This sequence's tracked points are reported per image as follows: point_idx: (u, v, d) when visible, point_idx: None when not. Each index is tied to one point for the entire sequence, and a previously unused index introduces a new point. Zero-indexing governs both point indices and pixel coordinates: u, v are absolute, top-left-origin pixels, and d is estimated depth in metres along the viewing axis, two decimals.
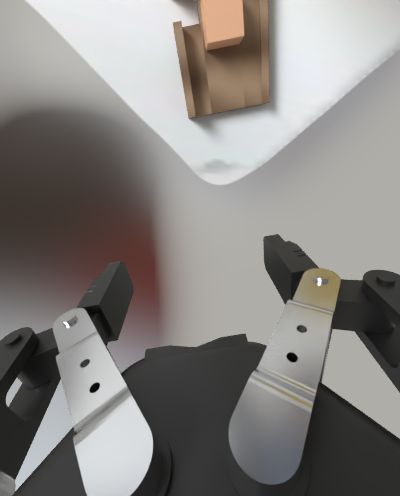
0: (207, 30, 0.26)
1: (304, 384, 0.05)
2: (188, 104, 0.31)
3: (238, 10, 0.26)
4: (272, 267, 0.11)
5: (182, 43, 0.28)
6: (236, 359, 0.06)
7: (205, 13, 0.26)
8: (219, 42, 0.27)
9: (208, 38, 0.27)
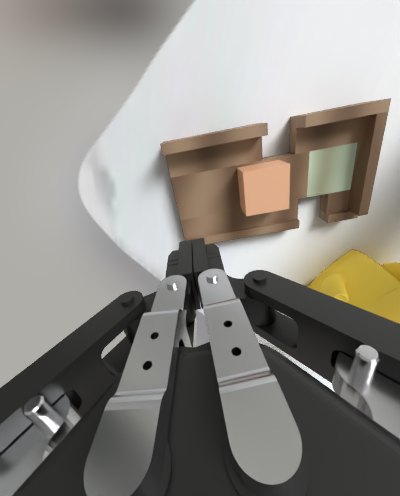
0: (254, 172, 0.21)
1: (258, 366, 0.05)
2: (177, 143, 0.21)
3: (268, 207, 0.23)
4: None
5: (245, 136, 0.21)
6: None
7: (270, 168, 0.21)
8: (242, 186, 0.22)
9: (247, 173, 0.21)
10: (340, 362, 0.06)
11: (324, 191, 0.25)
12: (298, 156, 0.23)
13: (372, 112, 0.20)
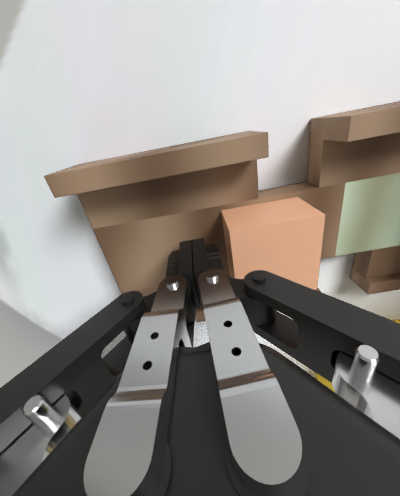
0: (253, 230, 0.10)
1: (258, 366, 0.05)
2: (79, 175, 0.10)
3: None
4: None
5: (222, 159, 0.10)
6: None
7: (285, 224, 0.10)
8: (230, 251, 0.12)
9: (238, 232, 0.10)
10: (340, 362, 0.06)
11: (365, 247, 0.15)
12: (324, 191, 0.13)
13: None
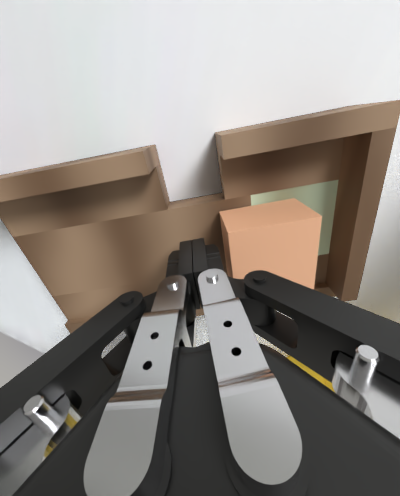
0: (251, 231, 0.11)
1: (258, 366, 0.05)
2: None
3: None
4: None
5: (104, 176, 0.10)
6: None
7: (282, 225, 0.11)
8: (228, 252, 0.12)
9: (236, 234, 0.11)
10: (340, 362, 0.06)
11: None
12: (231, 203, 0.13)
13: (362, 129, 0.10)
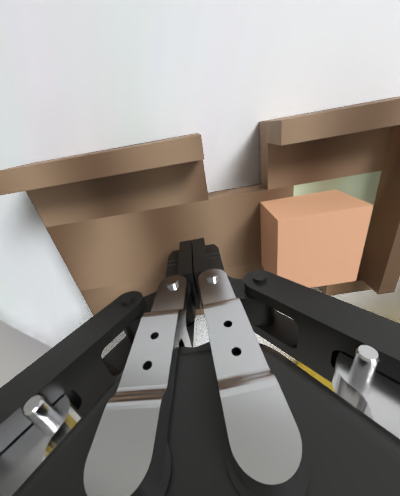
0: (301, 219, 0.11)
1: (258, 366, 0.05)
2: (17, 174, 0.10)
3: (317, 279, 0.12)
4: None
5: (158, 161, 0.10)
6: None
7: (333, 214, 0.10)
8: (273, 242, 0.12)
9: (286, 222, 0.11)
10: (340, 363, 0.06)
11: None
12: (273, 193, 0.13)
13: None
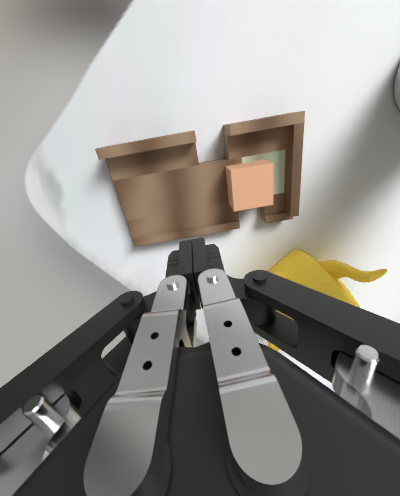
0: (241, 170, 0.23)
1: (258, 366, 0.05)
2: (111, 149, 0.22)
3: (254, 203, 0.25)
4: None
5: (175, 142, 0.22)
6: None
7: (255, 167, 0.23)
8: (230, 184, 0.24)
9: (234, 171, 0.23)
10: (340, 363, 0.06)
11: None
12: (232, 161, 0.25)
13: (289, 123, 0.22)
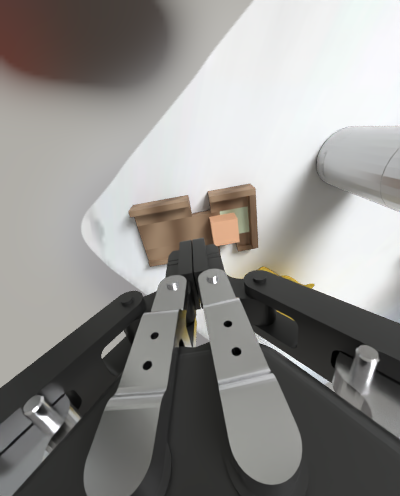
0: (217, 222, 0.37)
1: (258, 366, 0.05)
2: (138, 211, 0.36)
3: (227, 241, 0.39)
4: None
5: (176, 207, 0.36)
6: None
7: (226, 221, 0.37)
8: (211, 229, 0.38)
9: (213, 223, 0.37)
10: (340, 362, 0.06)
11: None
12: (213, 214, 0.39)
13: (246, 195, 0.36)
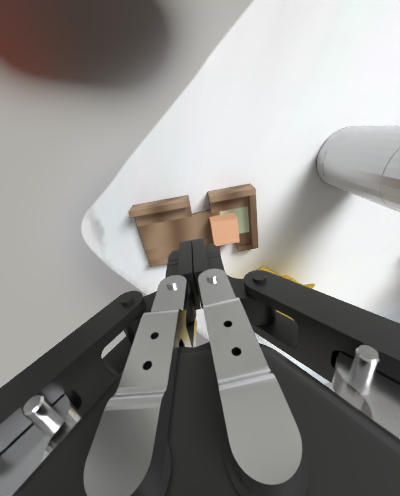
0: (217, 222, 0.37)
1: (258, 366, 0.05)
2: (138, 211, 0.36)
3: (227, 241, 0.39)
4: None
5: (176, 207, 0.36)
6: None
7: (226, 221, 0.37)
8: (211, 229, 0.38)
9: (213, 223, 0.37)
10: (340, 362, 0.06)
11: None
12: (213, 214, 0.39)
13: (246, 195, 0.36)
